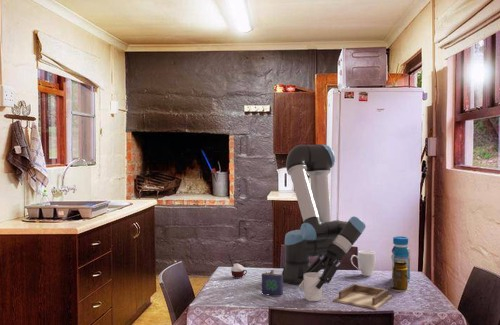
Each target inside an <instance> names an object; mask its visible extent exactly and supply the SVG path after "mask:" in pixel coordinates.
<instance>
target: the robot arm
mask: <svg viewBox="0 0 500 325" xmlns="http://www.w3.org/2000/svg"><path fill="white" fill-rule="evenodd" d="M335 158H336V157H335V152H334V150H333V149H332V147H331V146H330V145H327V144H299V145H295V146H294V147H292V149H290V150H289V152H288V155H287V158H286V162H285V166H286V172H287V174H288V175H289V176H290V178H291V181H292V186H293V189H294V193H295V196H296V199H297V200H296V201H297V204H298V206H299V210H300V214H301V218H302V222H303V223H302V224H301V226H300V229H295V230H290V231H288V232H287V233H285V236H284V266H283V270H282V273H281V274H282V275H283V281H284V282H283V283H286V282H287V284H290V283H291V285H298V288H299V289H300V290H301V291H303V292H305V291H304V274H305V273H309V272H315V273H320V272H321V270H322V269H323V271H322V273H321V274H322V276H321V277H320V278H319V279H318V280H317V282H316V283H315V284H314V285H313V287H312V288H311V289H310V291H309V292H310V293H311V294H312V295H313V296H315V294H316V293H317V292H318V290H319V289H320V288H321V287H322V288H323V285H324V284H330V282H331V281H332V279H333V278H334V275H336V272H337V271H338V269H339V268H340V267H341V266H342V263H341V262H340V261H342V260H343V259H344V257H345V256H346V254H348V252H349V250H350V249H351V248H352V247H353V246H354V244H355V243H356V241H358V239H359V238H360V236H362V234H363V232H364V231H365V229H366V227H367V226H366V223H365V222H364V221H363V220H362V219H361V218H360V217H357V216H353V215H352V216H350V218H349V219H348V221H346V220H345V221H344V220H338V219H337V220H332V221H331V208H330V206H331V205H330V192H329V190H330V189H329V188H330V187H329V176H328V175H329V174H330V173H331V170H332V169H331V168H333V167H334V166H335V161H336V159H335ZM308 175H309V178H308ZM313 257H315V258H316V257H317V258H316V259H315V261H313V263H311V264H310V261H311V259H310V258H313Z"/></svg>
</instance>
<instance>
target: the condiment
mask: <svg viewBox="0 0 500 325" xmlns="http://www.w3.org/2000/svg"><path fill="white" fill-rule="evenodd" d="M406 264H407V263H406V262H405V261H401V260H397V261H394V267H393V279H392V281H393V282H392V284H393V285H392V286H388V287H386V289H387V290H392V291H395V292H398V293H401V292H405V291H409V290H412V288H411V287H408V284H409V283H408V282H409V281H408V275H407V274H408V270H407V265H406Z"/></svg>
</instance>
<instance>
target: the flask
mask: <svg viewBox="0 0 500 325" xmlns="http://www.w3.org/2000/svg"><path fill="white" fill-rule="evenodd" d="M274 271H275V270H274V269H270V272H267V271H266V272H262V274H261V294H262V293H263V294H269V295H284V282H283V275H282V273H274Z"/></svg>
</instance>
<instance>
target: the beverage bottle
mask: <svg viewBox="0 0 500 325" xmlns="http://www.w3.org/2000/svg"><path fill="white" fill-rule="evenodd" d="M392 239H393V240H392V241H393V242H392V244H393V247H392V248H391V257H390V258H391V268H392V269H391V270H392V271H391V280H393V267H394V261H397V260H401V261H405V262H406V263H407V264H406V265H407V270H408V274H407V275H408V282H410V280H411V272H410V270H411V268H410V265H411V262H410V261H411V256H410V255H411V251H410V249H409V246H408V245H409V238H408V237H406V236H401V235H400V236H399V235H398V236H394V237H392Z"/></svg>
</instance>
